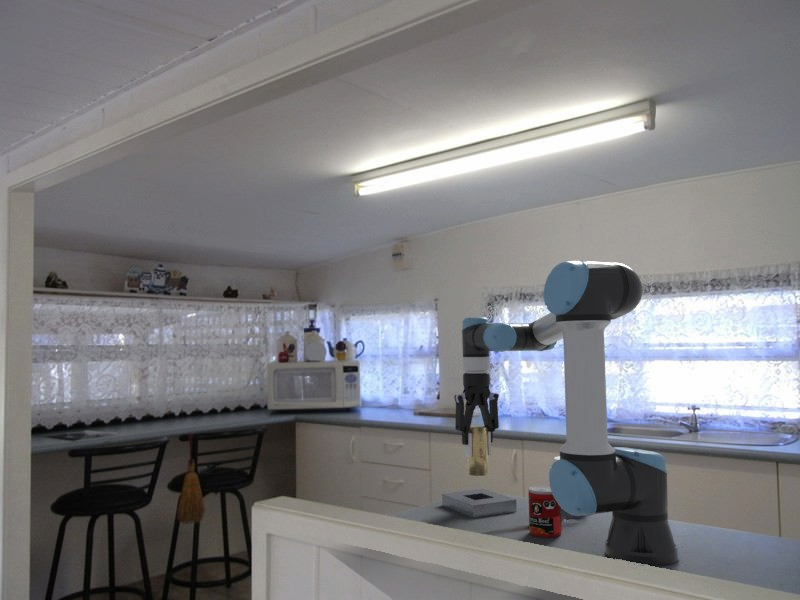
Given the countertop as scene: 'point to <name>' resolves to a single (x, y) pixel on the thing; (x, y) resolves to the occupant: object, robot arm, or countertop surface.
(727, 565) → the countertop surface
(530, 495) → the canned food
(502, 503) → the housing
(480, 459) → the cream rounded cylinder
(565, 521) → the countertop surface
